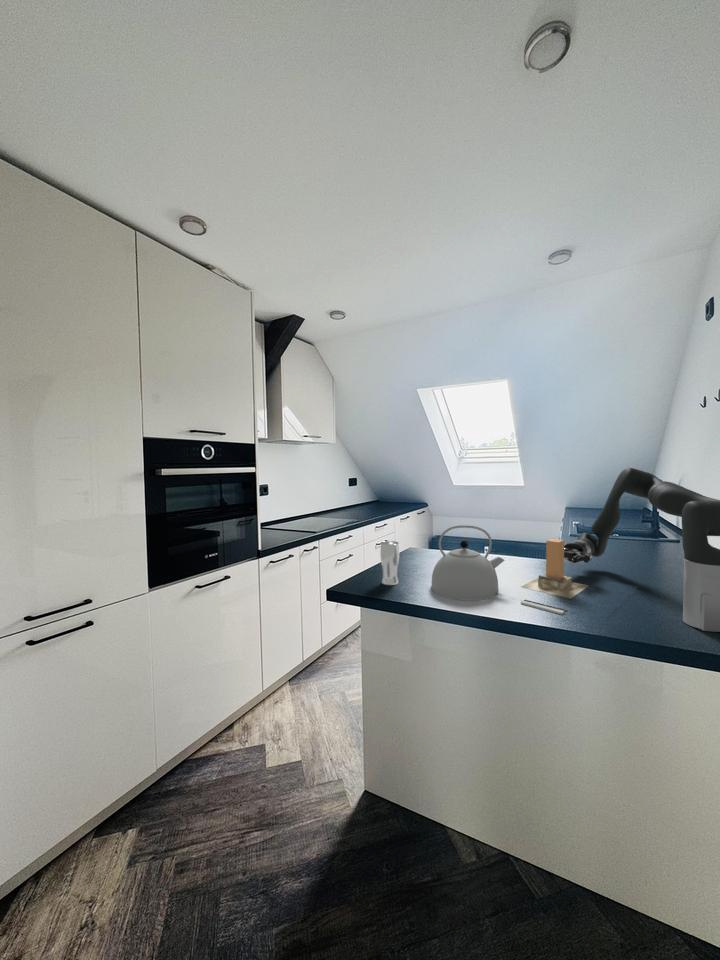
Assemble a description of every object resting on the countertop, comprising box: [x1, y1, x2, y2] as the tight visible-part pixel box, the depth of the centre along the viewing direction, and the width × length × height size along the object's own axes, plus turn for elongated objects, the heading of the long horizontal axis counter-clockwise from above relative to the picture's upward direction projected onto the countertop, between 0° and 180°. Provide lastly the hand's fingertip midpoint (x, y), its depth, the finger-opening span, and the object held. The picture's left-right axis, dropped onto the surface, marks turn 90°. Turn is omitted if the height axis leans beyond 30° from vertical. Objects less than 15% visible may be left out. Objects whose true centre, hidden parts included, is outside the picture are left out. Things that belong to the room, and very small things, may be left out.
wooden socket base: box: [520, 573, 590, 599], centre depth 133 cm, size 16×18×5 cm
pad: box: [520, 599, 568, 616], centre depth 119 cm, size 12×12×1 cm
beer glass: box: [379, 540, 400, 586], centre depth 142 cm, size 7×7×15 cm
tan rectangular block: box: [545, 538, 565, 580], centre depth 132 cm, size 4×5×16 cm
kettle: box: [430, 524, 506, 601], centre depth 134 cm, size 25×23×23 cm
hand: (561, 558), depth 136 cm, fingers open, 8 cm apart
